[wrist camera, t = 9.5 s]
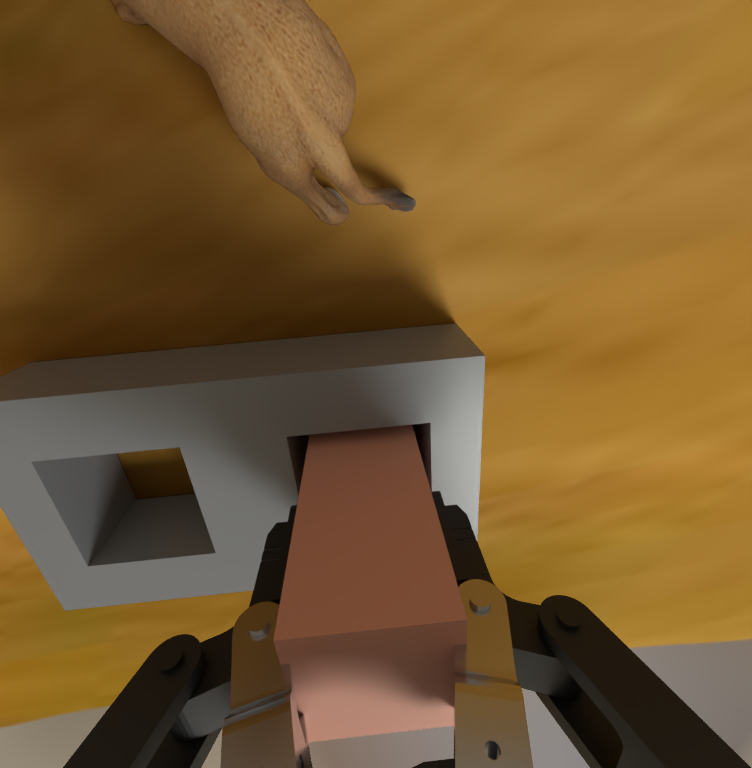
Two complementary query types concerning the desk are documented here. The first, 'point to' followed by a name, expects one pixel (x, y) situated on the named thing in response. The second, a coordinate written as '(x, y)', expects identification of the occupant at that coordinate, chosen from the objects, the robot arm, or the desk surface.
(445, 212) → the desk surface
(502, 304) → the desk surface
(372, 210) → the desk surface
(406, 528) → the peg
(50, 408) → the pocket board
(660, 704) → the robot arm
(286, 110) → the lion figurine
